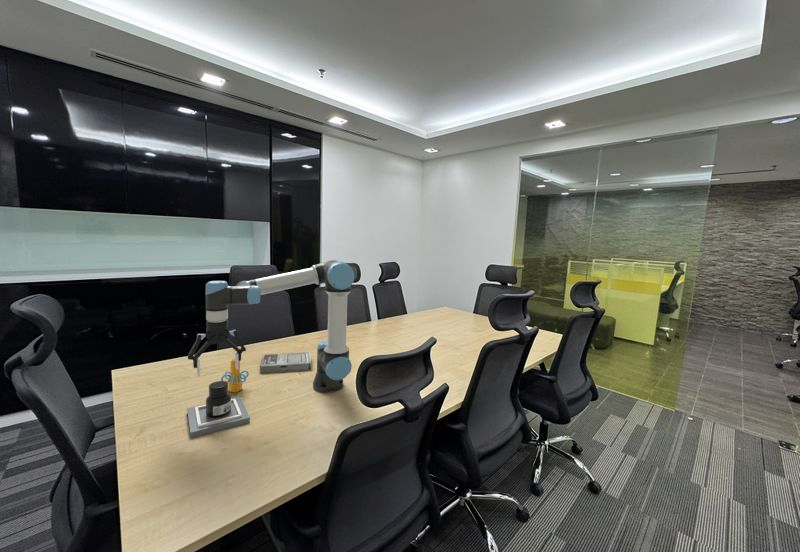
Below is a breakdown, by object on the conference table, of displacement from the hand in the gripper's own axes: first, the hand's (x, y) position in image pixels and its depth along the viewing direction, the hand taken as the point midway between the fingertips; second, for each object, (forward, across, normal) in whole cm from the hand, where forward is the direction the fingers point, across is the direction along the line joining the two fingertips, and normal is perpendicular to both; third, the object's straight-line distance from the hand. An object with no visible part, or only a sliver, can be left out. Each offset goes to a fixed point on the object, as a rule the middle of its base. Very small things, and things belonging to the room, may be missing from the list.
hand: (218, 371), depth 130 cm
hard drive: (+20, -40, -42) cm, 61 cm away
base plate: (+19, 0, 0) cm, 19 cm away
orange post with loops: (+20, -10, -23) cm, 32 cm away
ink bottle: (+18, 0, 0) cm, 18 cm away
